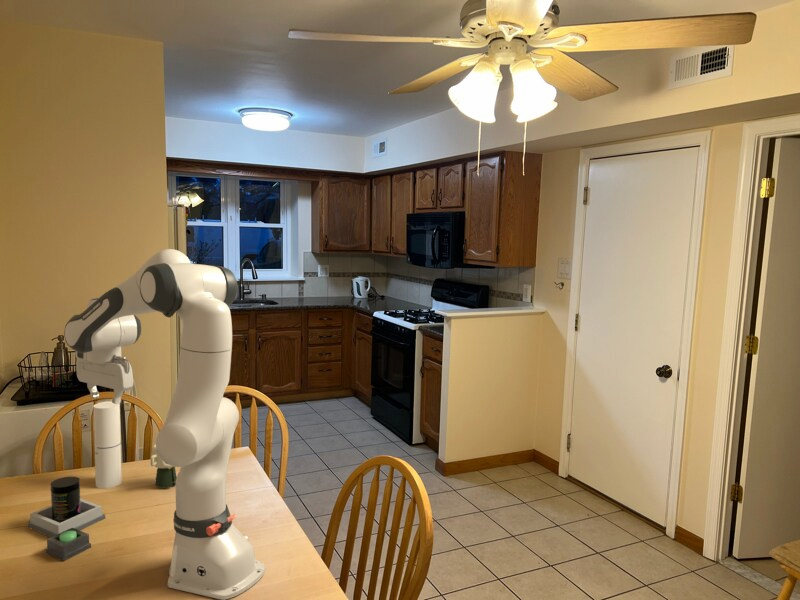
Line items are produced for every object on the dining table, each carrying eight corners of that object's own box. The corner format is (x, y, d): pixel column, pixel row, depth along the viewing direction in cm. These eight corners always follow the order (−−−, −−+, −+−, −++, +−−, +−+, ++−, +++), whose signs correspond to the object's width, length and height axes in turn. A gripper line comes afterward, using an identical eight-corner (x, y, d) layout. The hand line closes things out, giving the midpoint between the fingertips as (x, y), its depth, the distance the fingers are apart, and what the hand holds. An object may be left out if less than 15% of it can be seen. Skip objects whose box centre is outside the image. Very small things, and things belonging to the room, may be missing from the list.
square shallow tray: (105, 518, 155) (104, 506, 155) (58, 540, 144) (57, 527, 143) (75, 506, 161) (74, 494, 161) (27, 526, 150) (26, 514, 149)
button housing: (91, 547, 141) (90, 534, 141) (63, 561, 135) (62, 547, 134) (73, 539, 144) (72, 526, 144) (45, 553, 138) (44, 539, 138)
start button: (80, 542, 140) (79, 533, 140) (65, 549, 137) (65, 539, 137) (70, 538, 142) (70, 529, 141) (56, 545, 139) (56, 535, 138)
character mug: (159, 494, 170) (159, 452, 168) (143, 489, 173) (142, 448, 172) (188, 481, 180) (188, 441, 178) (172, 476, 183) (171, 437, 181)
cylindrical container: (110, 489, 172) (108, 409, 169) (90, 486, 174) (87, 407, 171) (126, 479, 179) (124, 402, 176) (106, 477, 181) (104, 400, 178)
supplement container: (80, 522, 151) (79, 484, 150) (50, 527, 148) (49, 489, 147) (81, 511, 157) (80, 474, 156) (53, 515, 154) (51, 478, 153)
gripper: (138, 356, 161) (139, 403, 162) (91, 347, 170) (93, 392, 172) (118, 360, 155) (119, 409, 157) (71, 351, 164) (73, 397, 166)
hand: (105, 400), depth 164 cm, fingers open, 8 cm apart
